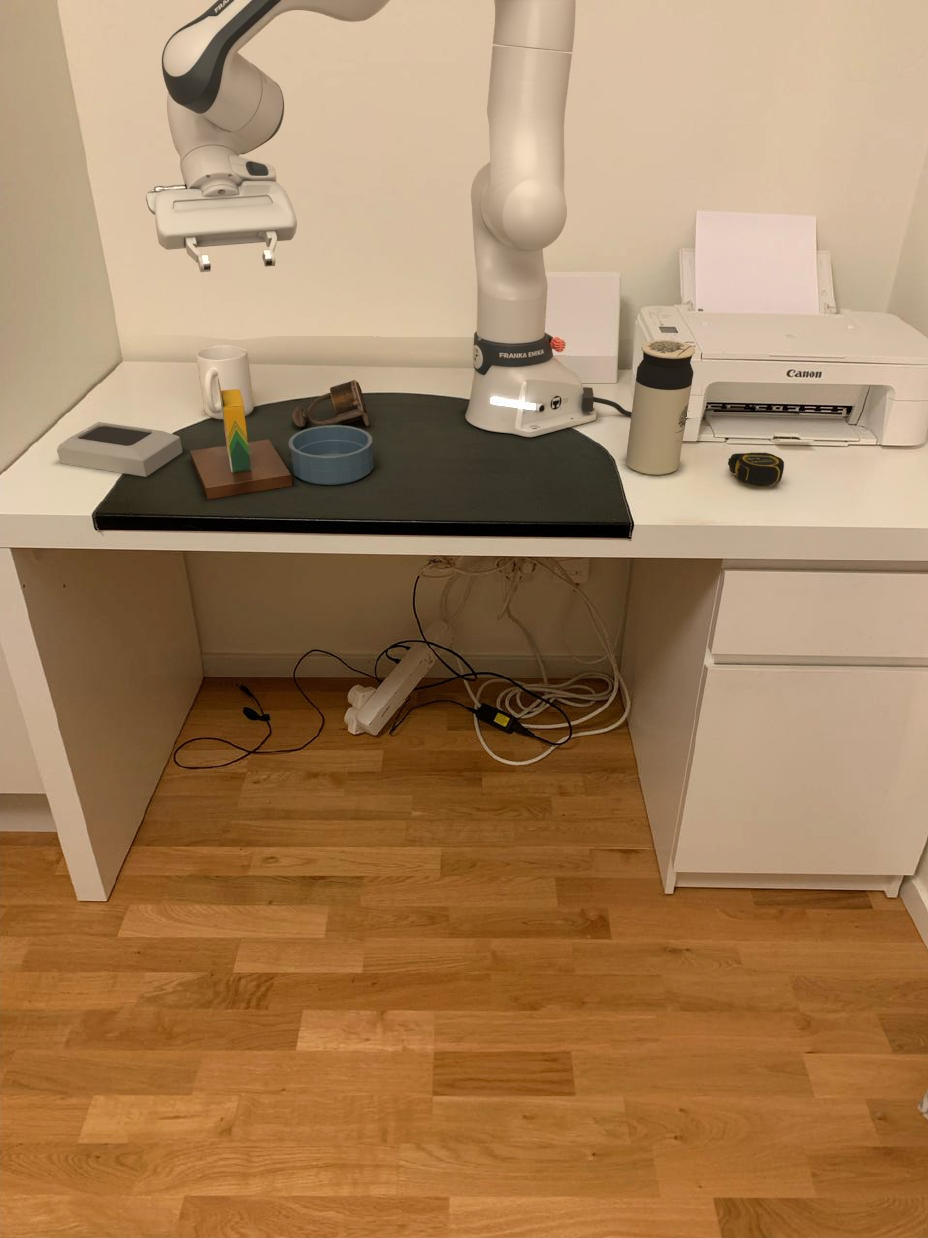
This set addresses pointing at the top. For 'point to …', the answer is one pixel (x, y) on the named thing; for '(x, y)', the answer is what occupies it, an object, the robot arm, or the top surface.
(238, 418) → the crayon box
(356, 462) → the bowl
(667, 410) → the travel mug
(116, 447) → the grey bevelled block
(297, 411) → the brown roll holder
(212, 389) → the cup
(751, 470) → the tape measure
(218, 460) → the board
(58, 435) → the top surface
